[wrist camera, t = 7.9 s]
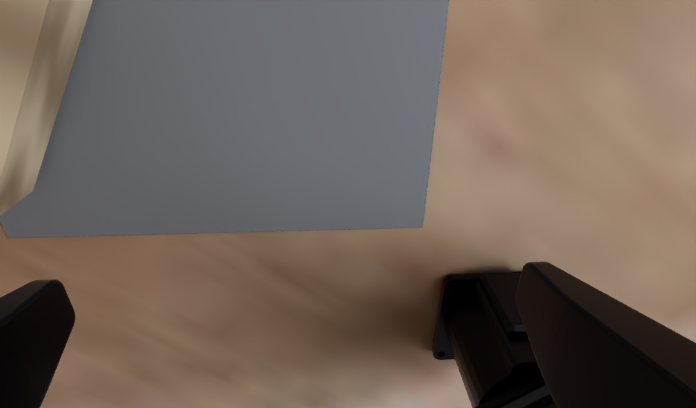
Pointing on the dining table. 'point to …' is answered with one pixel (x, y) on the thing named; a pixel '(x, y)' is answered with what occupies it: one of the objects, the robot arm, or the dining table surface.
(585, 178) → the dining table surface
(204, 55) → the grey board
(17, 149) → the dial lever
